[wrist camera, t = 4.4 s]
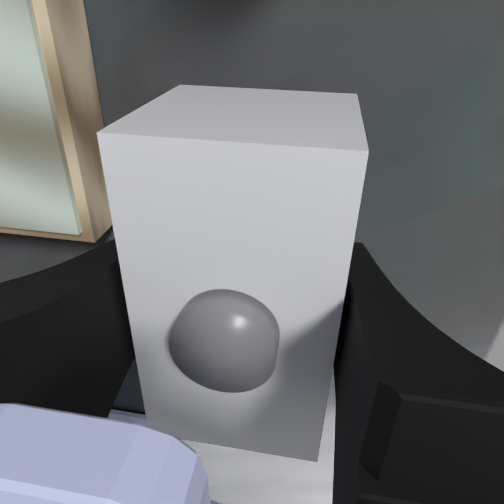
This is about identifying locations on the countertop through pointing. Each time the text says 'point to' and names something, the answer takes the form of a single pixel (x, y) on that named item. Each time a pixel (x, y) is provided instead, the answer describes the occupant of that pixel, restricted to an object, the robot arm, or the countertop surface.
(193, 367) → the block
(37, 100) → the stand
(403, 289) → the countertop surface
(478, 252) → the countertop surface
